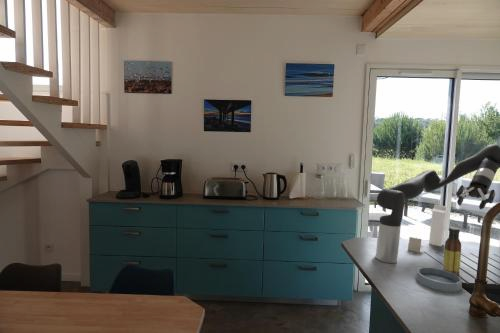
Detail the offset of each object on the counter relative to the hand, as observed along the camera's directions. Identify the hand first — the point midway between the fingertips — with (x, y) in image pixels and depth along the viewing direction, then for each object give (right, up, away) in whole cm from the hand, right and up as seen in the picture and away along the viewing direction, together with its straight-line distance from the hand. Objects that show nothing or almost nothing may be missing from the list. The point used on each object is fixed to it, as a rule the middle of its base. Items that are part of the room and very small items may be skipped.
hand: (469, 206), depth 150 cm
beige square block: (-14, -26, +23) cm, 37 cm away
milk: (+5, -26, +36) cm, 44 cm away
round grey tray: (-23, -29, -15) cm, 40 cm away
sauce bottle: (-11, -29, -4) cm, 31 cm away
